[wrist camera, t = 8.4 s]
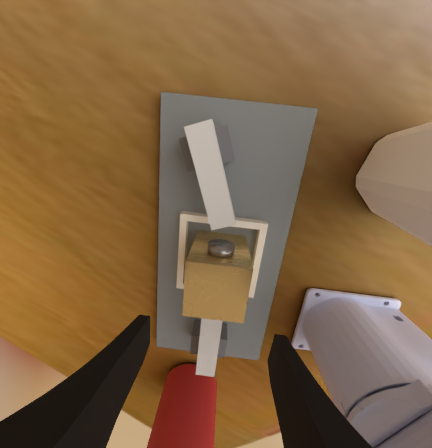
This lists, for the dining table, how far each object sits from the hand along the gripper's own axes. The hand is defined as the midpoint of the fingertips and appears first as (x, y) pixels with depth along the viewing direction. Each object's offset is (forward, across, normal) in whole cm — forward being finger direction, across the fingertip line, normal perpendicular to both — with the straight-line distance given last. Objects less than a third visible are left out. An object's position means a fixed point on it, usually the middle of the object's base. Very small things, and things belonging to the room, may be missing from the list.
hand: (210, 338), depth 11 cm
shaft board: (+10, 0, -1) cm, 10 cm away
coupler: (+9, 0, -1) cm, 9 cm away
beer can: (+10, +1, +18) cm, 20 cm away
